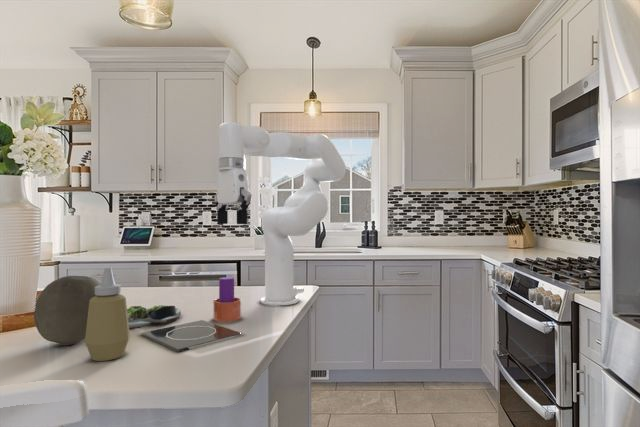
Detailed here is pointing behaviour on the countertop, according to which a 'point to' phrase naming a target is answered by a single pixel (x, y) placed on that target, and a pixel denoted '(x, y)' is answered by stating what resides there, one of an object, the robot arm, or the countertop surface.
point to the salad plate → (152, 315)
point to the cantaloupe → (65, 309)
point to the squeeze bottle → (107, 321)
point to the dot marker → (226, 289)
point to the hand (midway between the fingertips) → (232, 223)
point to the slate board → (189, 335)
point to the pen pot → (227, 310)
